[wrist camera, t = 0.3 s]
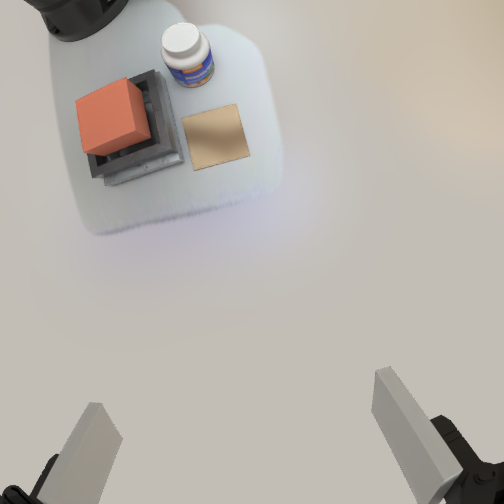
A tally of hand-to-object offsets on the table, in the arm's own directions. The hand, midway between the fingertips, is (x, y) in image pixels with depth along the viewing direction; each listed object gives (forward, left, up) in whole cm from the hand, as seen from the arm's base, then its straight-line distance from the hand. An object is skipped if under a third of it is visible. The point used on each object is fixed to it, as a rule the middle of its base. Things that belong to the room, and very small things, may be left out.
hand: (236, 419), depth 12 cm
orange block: (-20, -8, -21) cm, 31 cm away
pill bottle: (-26, +1, -27) cm, 38 cm away
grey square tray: (-20, -8, -27) cm, 35 cm away
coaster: (-16, +1, -27) cm, 32 cm away
